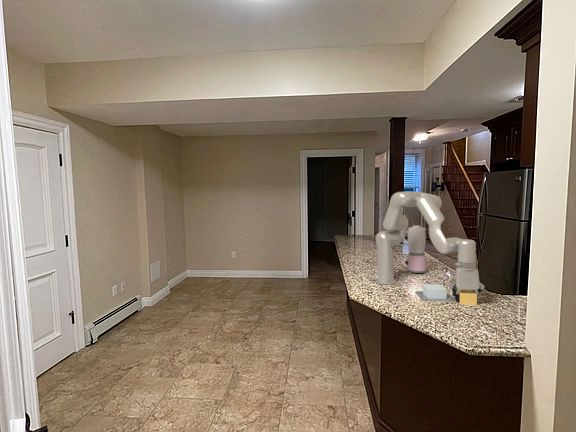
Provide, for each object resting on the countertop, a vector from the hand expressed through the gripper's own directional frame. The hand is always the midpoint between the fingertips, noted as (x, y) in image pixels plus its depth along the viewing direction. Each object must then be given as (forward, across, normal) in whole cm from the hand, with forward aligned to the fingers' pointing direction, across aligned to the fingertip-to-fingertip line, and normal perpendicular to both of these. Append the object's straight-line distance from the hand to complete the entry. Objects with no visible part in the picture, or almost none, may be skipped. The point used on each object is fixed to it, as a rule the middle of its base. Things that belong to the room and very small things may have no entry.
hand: (466, 301), depth 159 cm
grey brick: (0, -12, +9) cm, 15 cm away
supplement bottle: (+2, +1, +11) cm, 11 cm away
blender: (+2, -9, +66) cm, 67 cm away
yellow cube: (+1, 0, 0) cm, 1 cm away
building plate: (+1, -12, +9) cm, 15 cm away
